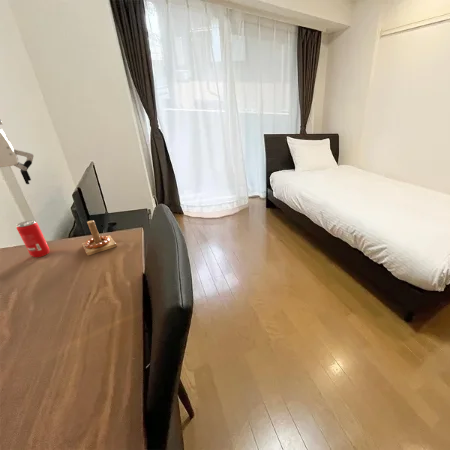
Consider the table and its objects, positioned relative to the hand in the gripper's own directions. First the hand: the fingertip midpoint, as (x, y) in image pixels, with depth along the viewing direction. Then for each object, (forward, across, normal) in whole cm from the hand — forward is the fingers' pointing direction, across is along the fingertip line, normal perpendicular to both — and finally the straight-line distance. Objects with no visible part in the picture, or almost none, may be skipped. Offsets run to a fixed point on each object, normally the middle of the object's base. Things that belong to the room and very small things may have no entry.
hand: (5, 186), depth 80 cm
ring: (+24, -16, +2) cm, 29 cm away
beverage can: (+26, 0, -6) cm, 27 cm away
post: (+26, -16, +2) cm, 31 cm away
